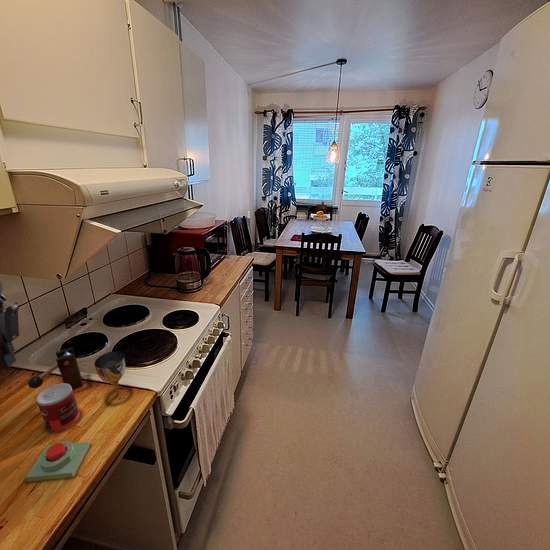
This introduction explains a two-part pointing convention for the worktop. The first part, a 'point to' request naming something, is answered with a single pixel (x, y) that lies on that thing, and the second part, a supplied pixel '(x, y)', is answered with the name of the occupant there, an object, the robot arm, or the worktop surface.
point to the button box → (58, 463)
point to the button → (55, 452)
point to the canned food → (58, 406)
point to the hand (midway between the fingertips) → (9, 363)
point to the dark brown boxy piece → (69, 368)
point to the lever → (43, 375)
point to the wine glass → (111, 368)
